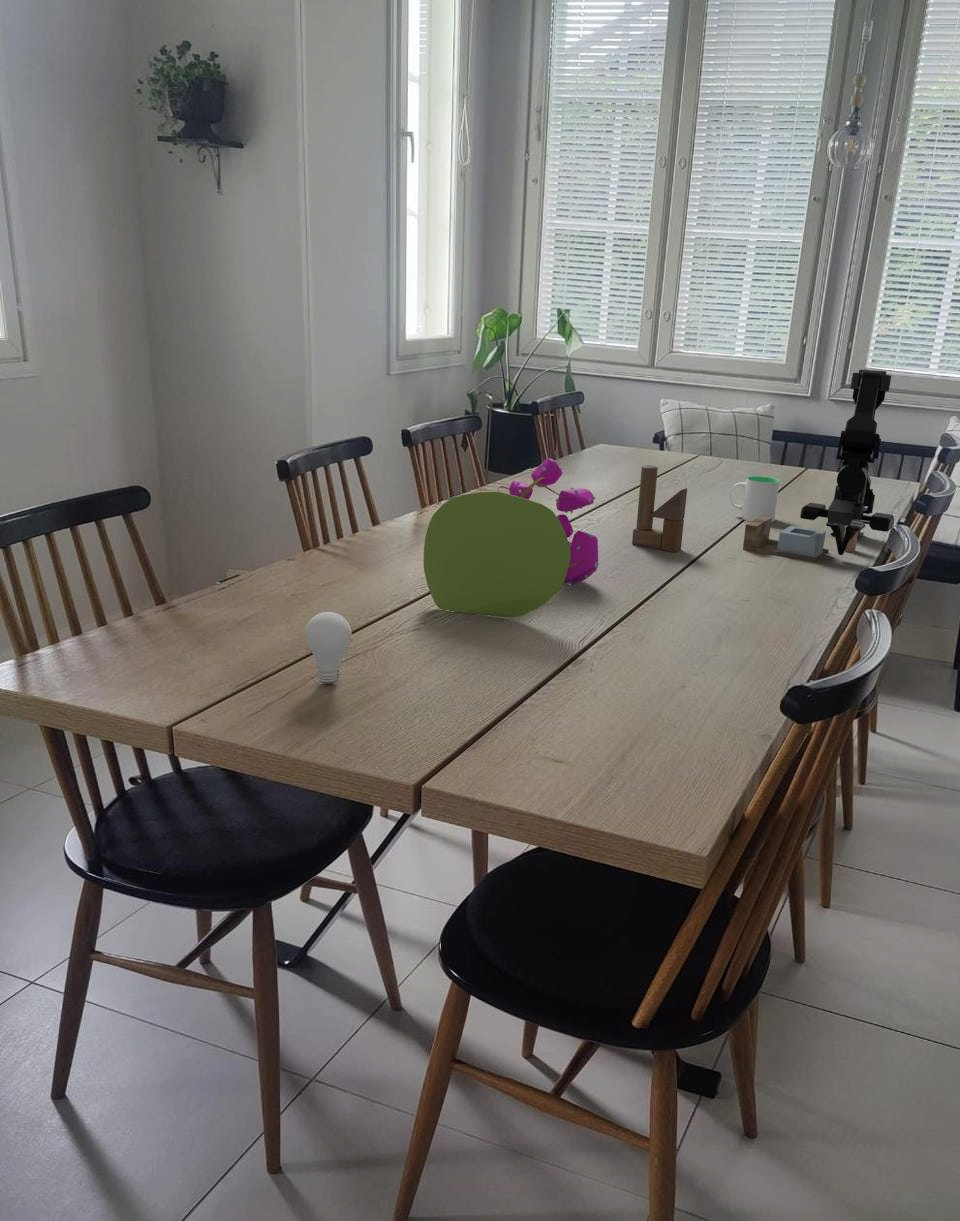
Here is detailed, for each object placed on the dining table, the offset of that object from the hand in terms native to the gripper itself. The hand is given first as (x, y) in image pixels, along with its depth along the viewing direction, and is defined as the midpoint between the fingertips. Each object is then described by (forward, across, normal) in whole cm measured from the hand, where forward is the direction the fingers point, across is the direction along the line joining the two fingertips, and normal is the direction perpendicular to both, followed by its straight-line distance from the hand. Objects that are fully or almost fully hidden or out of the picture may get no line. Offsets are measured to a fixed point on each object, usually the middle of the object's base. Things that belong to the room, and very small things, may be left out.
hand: (840, 554), depth 222 cm
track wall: (+2, -12, 0) cm, 12 cm away
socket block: (+1, -9, 0) cm, 9 cm away
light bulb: (+2, -42, -122) cm, 129 cm away
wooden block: (+2, -37, -16) cm, 40 cm away
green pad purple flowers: (+2, -45, -64) cm, 78 cm away
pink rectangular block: (+2, -1, +10) cm, 11 cm away
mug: (+2, -30, +28) cm, 41 cm away
